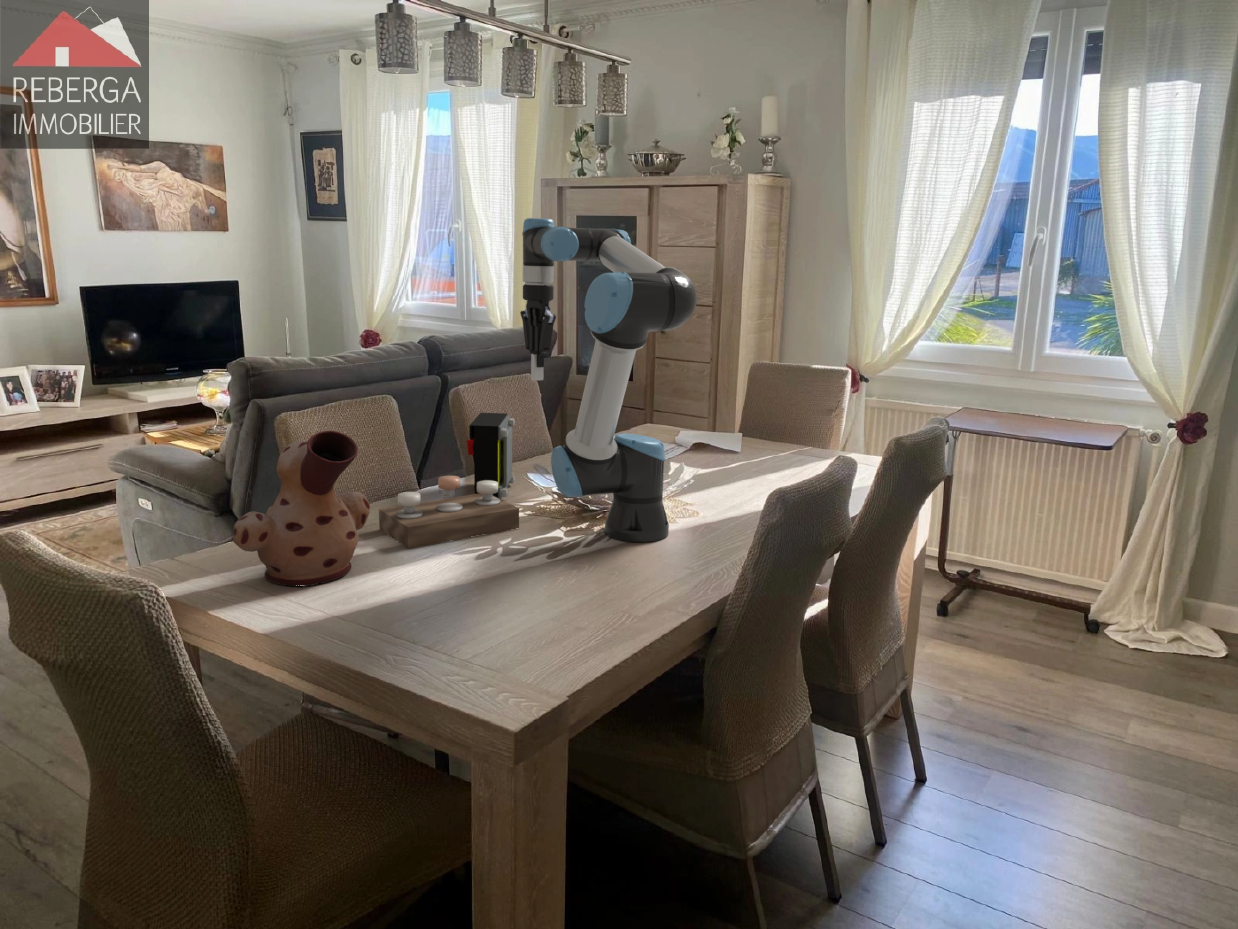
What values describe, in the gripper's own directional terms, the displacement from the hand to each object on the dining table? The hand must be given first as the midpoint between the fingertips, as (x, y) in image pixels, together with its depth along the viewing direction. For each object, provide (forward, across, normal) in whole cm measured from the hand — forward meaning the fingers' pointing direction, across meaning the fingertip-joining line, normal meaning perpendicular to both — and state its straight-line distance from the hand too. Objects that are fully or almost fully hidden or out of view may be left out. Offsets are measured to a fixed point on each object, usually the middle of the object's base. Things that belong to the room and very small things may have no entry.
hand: (537, 379), depth 230 cm
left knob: (+27, -7, +38) cm, 47 cm away
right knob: (+27, -7, +18) cm, 33 cm away
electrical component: (+33, +16, +4) cm, 37 cm away
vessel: (+33, -20, +64) cm, 75 cm away
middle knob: (+24, -7, +28) cm, 38 cm away
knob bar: (+32, -7, +28) cm, 43 cm away
